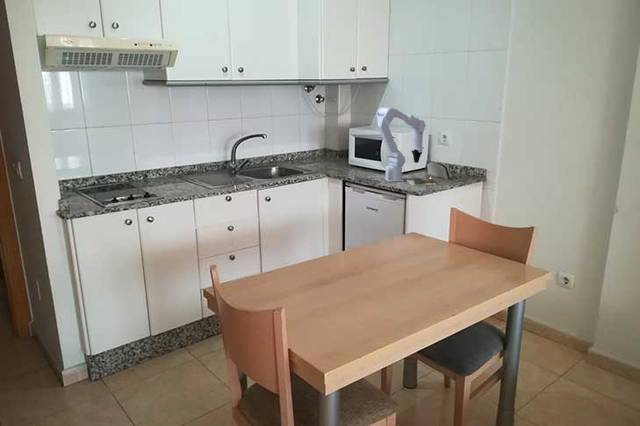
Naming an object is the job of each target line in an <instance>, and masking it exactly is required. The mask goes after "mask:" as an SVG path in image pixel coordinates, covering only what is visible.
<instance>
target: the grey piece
mask: <svg viewBox="0 0 640 426" xmlns="http://www.w3.org/2000/svg"><path fill="white" fill-rule="evenodd" d="M426 166H427V174H428V175H430V174H431V176H433V177H437V178H441V179H446V180H448V179H449V178H451V179H453V175H452V174H451V173H450V169H449V166H448V165H447V164H445V163H442V162H440V161H431V162H429V163H428V164H427V165H426Z"/></svg>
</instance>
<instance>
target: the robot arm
mask: <svg viewBox="0 0 640 426" xmlns="http://www.w3.org/2000/svg"><path fill="white" fill-rule="evenodd" d="M375 115H376V118H377V127H378V130H379V133H380V135H381V137H382V140H383V143H384V145H385V147H386V149H387V151H388V152H387V153H386V155H387V162H388V163H389V164H388V165H386V166H385V175H384V176H385V178H384V179H385V180H386V181H387V182H390V183H391V182H405V180H404V179H403V178H402V177H403V167H404V166H405V163H406V157H405V156H404V155H403V153H402V152H401V151H400V149H398V147H397V145H396V142H395V139H394V136H393V134H392V132H391V129H390V127H389V125H390V124H391V123H392V121H393V120H394V119H395V118H398V119H399V120H402V121H403V122H404V124H405V125H407V126H409V127H411V129H413V130H412V145H411V149H413V150H411V153H412V156H413V162H414V164H417V163H420V158H421V155H422V153H423V149H425V147H423V136H424V130H425V129H426V125H427V124H426V123H425V121H424V120H423V119H419V117H415V116H414V114H412V113H409V114H405V113H403V112H401V111H399V109H397V108H396V109H395V108H394V107H384V106H381V107H379V108H378V109H377V111H376V114H375Z"/></svg>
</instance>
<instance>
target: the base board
mask: <svg viewBox="0 0 640 426" xmlns="http://www.w3.org/2000/svg"><path fill="white" fill-rule="evenodd" d="M413 181H414V179H406V182H407V183H408V182H409V183H408V184H409V185H412V186H413V187H415V186H417V187H418V186H437V183H436V182H434V183H421V184H414V182H413Z"/></svg>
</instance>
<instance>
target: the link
mask: <svg viewBox="0 0 640 426" xmlns="http://www.w3.org/2000/svg"><path fill="white" fill-rule="evenodd" d="M420 179H421V183H435V179H434V178H433V180H429V179H430V178H428V179H427V178H424V179H422V178H420ZM413 182H414V181H413Z"/></svg>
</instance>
